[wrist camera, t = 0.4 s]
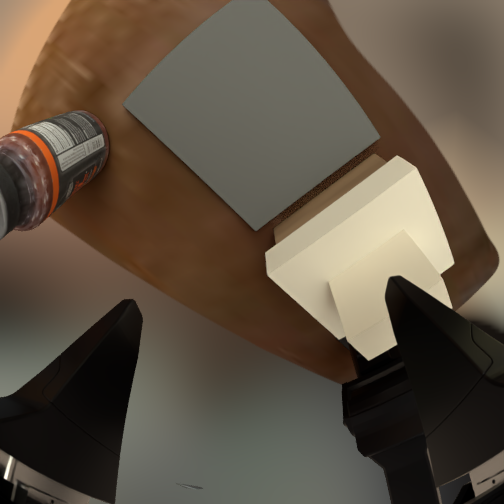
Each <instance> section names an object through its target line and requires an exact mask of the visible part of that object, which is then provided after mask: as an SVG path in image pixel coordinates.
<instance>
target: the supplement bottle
mask: <svg viewBox="0 0 504 504" xmlns="http://www.w3.org/2000/svg"><path fill="white" fill-rule="evenodd" d="M108 153H109V140H108V134H107V132H106V129H105V127H104V125H103V124H102V122H101V121H100V120H99V119H98V118H97V117H96V116H95V115H93V114H92V113H89V112H87V111H71V112H67V113H64V114H61V115H57V116H54V117H51V118H48V119H45V120H42V121H39V122H37V123H34V124H31V125H29V126H26V127H24V128H21V129H19V130H16V131H14V132H11V133H9V134H7V135H5V136H3V137H2V138H0V240H1V239H2V238H3V237H4V236H5V235H7V234H8V233H9V232H10V231H12V230H13V229H14V230H18V231H28V230H32V229H34V228H36V227H37V226H39V225H40V224H41V223H42V222H43V221H44V220H46V218H48V217H49V216H50V215H51V214H52V213H53V212H55V211H56V210H57V209H58V208H59V207H60V206H61V205H62V204H63V203H64V202H65V201H66V200H68V199H69V198H70V197H71V196H72V195H73V194H75V193H76V192H77V191H78V190H80V189H81V188H82V187H83V186H84V185H85V184H87V183H88V182H89V181H91V180H92V179H93V178H94V177H95V176H96V175H97V174H98V173H99V172H100V171H101V170H102V168H103V167H104V165H105V163H106V160H107V157H108Z"/></svg>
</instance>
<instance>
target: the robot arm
mask: <svg viewBox="0 0 504 504" xmlns="http://www.w3.org/2000/svg"><path fill="white" fill-rule="evenodd" d="M385 302H386V306H387V310H388V313H389V317H390V321H391V325H392V329H393V333H394V336H395V339H396V342H397V345H395V346H394V347H392V348H390V349H389V350H387V351H385V352H383V353H382V354H380V355H378V356H376V357H375V358H373V359H371V360H369V361H368V360H367V359H366V358H365V357H364V356H363V355H362V354H361V353H360V352H359V351H357V350H356V349H355V348H354V347H353V346H352V345H351V344H350V343H349V342H348V341H347V338H346V336H345V337H343V338H341V339H340V340H339V339H338V338H336V339H337V340H338V341H339V342H341V343H342V344H343V345H344V346H345V347H346V348H347V349H348V350H350V353H351V356H352V360H353V363H354V367H355V370H356V374H357V379H355V380H352V381H350V382H348V383H347V382H346V383H344V384H342V401H343V402H342V404H343V424H344V425H345V426H346V427H348V429H349V431H350V433H351V434H352V435H353V436H354V437H355V438H356V443H357V448H358V451H359V452H360V453H361V454H362V455H363V456H364V457H369V458H370V459H372V460H373V461H374V462H375V463H377V464H378V465H379V466H381V467H382V468H383V470H384V473H385V477H386V481H387V486H388V490H389V495H390V500H391V504H442V501H441V496H440V492H439V488H438V487H440V486H442V485H444V484H447V483H449V482H451V481H453V480H455V479H457V478H459V477H461V476H463V475H465V474H467V473H470V477H471V482H469V483H467V484H465V485H463V486H462V488H461V490H460V492H459V494H458V496H457V497H456V499H455V501H454V503H453V504H504V345H503V344H502V343H500V342H498V341H497V340H495V339H494V338H492V337H491V336H489V335H488V334H486V333H485V332H483V331H482V330H481V329H479V328H478V327H476V326H475V325H474V324H472V323H471V324H470V322H469V321H468V320H466V319H465V318H463V317H462V316H460V315H459V314H458V313H456V312H455V311H454V310H452V309H451V308H449V307H448V306H446V305H445V304H443V303H442V302H440V301H439V300H437V299H436V298H434V297H433V296H431V295H430V294H428V293H427V292H425V291H424V290H422V289H421V288H419V287H418V286H416V285H415V284H413V283H412V282H410V281H408V280H407V279H405V278H404V277H402V276H400V275H396V276H390V277H389V278H388V282H387V287H386V291H385ZM142 323H143V318H142V314H141V312H140V310H139V308H138V306H137V304H136V302H135V301H134V300H133V299H124V300H122V301H121V302H120V303H119V304H118V305H116V306H115V307H114V308H113V309H112V310H110V311H109V312H108V313H107V314H106V315H105V316H104V317H102V318H101V319H100V320H99V321H98V322H96V323H95V324H94V325H93V326H92V327H91V328H90V329H88V330H87V331H86V332H85V333H84V334H83V335H82V336H80V337H79V338H78V339H77V340H76V341H75V342H74V343H72V344H71V345H70V346H69V347H68V348H67V349H66V350H65V351H64V352H62V353H61V355H59V356H58V357H57V358H56V359H55V360H54V361H53V362H51V363H50V364H49V365H48V366H47V367H46V368H45V369H44V370H42V371H41V372H40V373H39V374H37V375H36V376H35V377H34V378H32V379H31V380H30V381H29V382H27V383H26V384H25V385H24V386H23V387H21V388H20V389H19V390H17V391H16V392H15V393H13V394H11V395H9V396H6V397H0V504H88V503H89V498H90V497H92V498H95V499H98V500H101V501H103V502H106V503H109V504H115V496H116V485H117V477H118V468H119V460H120V452H121V444H122V438H123V431H124V425H125V418H126V413H127V408H128V402H129V397H130V392H131V387H132V383H133V378H134V373H135V368H136V364H137V359H138V353H139V346H140V338H141V330H142Z"/></svg>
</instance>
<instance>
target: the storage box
mask: <svg viewBox="0 0 504 504" xmlns="http://www.w3.org/2000/svg"><path fill="white" fill-rule="evenodd" d="M386 163H388V162H386V161H385V160H383V159H382V158H380V157H379V156H377V155H376V154H375V153H374V154H372V155H371V156H370V157H368V158H367V159H366V160H364V161H363V162H362V163H360V164H359V165H358V166H356V167H355V168H353V169H352V170H351V171H349V172H348V173H347V174H345V175H344V176H343V177H341V178H340V179H339V180H337V181H336V182H335V183H333V184H332V185H331V186H329V187H328V188H327V189H325V190H324V191H323V192H321V193H320V194H319V195H317V196H316V197H315V198H313V199H312V200H311V201H309V202H308V203H307V204H305V205H304V206H303V207H301V208H300V209H299V210H297V211H296V212H295V213H293V214H292V215H291V216H289V217H288V218H287V219H285V220H284V221H283V222H281V223H280V224H279V225H277V226H276V227H275V228H273V229H274V235H275V241H276V244H278V243H279V242H281V241H282V240H283V239H285V238H286V237H287V236H289V235H290V234H291V233H293V232H294V231H296V230H297V229H298V228H300V227H301V226H302V225H304V224H305V223H307V222H308V221H309V220H311V219H312V218H313V217H315V216H316V215H317V214H319V213H320V212H321V211H323V210H324V209H326V208H327V207H328V206H330V205H331V204H332V203H334V202H335V201H336V200H338V199H339V198H340V197H342V196H343V195H344V194H346V193H347V192H349V191H350V190H351V189H353V188H354V187H355V186H357V185H358V184H359V183H361V182H362V181H363V180H365V179H366V178H367V177H369V176H370V175H371V174H373V173H374V172H375V171H377V170H378V169H379V168H381V167H382V166H384V165H385V164H386Z"/></svg>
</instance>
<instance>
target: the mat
mask: <svg viewBox="0 0 504 504" xmlns="http://www.w3.org/2000/svg"><path fill="white" fill-rule="evenodd" d="M122 105H123V106H124V107H125V108H127V109H128V110H129V111H130V112H131V113H132V114H133V115H134V116H135V117H136V118H137V119H138V120H140V121H141V122H142V123H143V124H144V125H145V126H146V127H147V128H148V129H149V130H150V131H151V132H152V133H154V134H155V135H156V136H157V137H158V138H159V139H160V140H161V141H162V142H163V143H164V144H165V145H166V146H167V147H168V148H170V149H171V150H172V151H173V152H174V153H175V154H176V155H177V156H178V157H179V158H180V159H181V160H182V161H183V162H184V163H185V164H186V165H188V166H189V167H190V168H191V169H192V170H193V171H194V172H195V173H196V174H197V175H198V176H199V177H200V178H201V179H202V180H203V181H204V182H205V183H206V184H207V185H208V186H210V187H211V188H212V189H213V190H214V191H215V192H216V193H217V194H218V195H219V196H220V197H221V198H222V199H223V200H224V201H225V202H226V203H227V204H228V205H229V206H230V207H231V208H232V209H233V210H234V211H235V212H236V213H237V214H239V215H240V216H241V217H242V218H243V219H244V220H245V221H246V222H247V223H248V224H249V225H250V226H251V227H252V228H253V229H254V230H255V231H257V230H258V229H260V228H261V227H262V226H264V225H265V224H266V223H267V222H269V221H270V220H271V219H273V218H274V217H275V216H277V215H278V214H279V213H281V212H282V211H283V210H284V209H286V208H287V207H288V206H290V205H291V204H292V203H294V202H295V201H296V200H298V199H299V198H300V197H302V196H303V195H304V194H305V193H307V192H308V191H309V190H311V189H312V188H313V187H315V186H316V185H317V184H319V183H320V182H321V181H323V180H324V179H325V178H327V177H328V176H329V175H331V174H332V173H333V172H335V171H336V170H337V169H339V168H340V167H341V166H343V165H344V164H345V163H347V162H348V161H349V160H351V159H352V158H353V157H355V156H356V155H357V154H359V153H360V152H361V151H363V150H364V149H366V148H367V147H368V146H370V145H371V144H372V143H374V142H375V141H376V140H378V139H379V138H380V136H379V134H378V133H377V131H376V129H375V128H374V126H373V125H372V123H371V122H370V120H369V119H368V117H367V116H366V114H365V113H364V111H363V110H362V108H361V107H360V105H359V104H358V103H357V101H356V100H355V98H354V97H353V96H352V94H351V93H350V92H349V90H348V89H347V88H346V86H345V85H344V84H343V82H342V81H341V80H340V78H339V77H338V76H337V75H336V73H335V72H334V71H333V70H332V68H331V67H330V66H329V65H328V63H327V62H326V61H325V60H324V59H323V57H322V56H321V55H320V54H319V53H318V52H317V51H316V49H315V48H314V47H313V46H312V45H311V44H310V43H309V42H308V40H307V39H306V38H305V37H304V36H303V35H302V34H301V33H300V32H299V31H298V30H297V29H296V28H295V27H294V26H293V25H292V24H291V23H290V22H289V21H288V20H287V19H286V18H285V17H284V16H283V15H282V14H281V13H280V12H279V11H278V10H277V9H276V8H275V7H274V6H273V5H272V4H271V3H270V2H268V1H267V0H232V1H231V2H229V3H228V4H227V5H225V6H224V7H223V8H221V9H220V10H219V11H217V12H216V13H215V14H214V15H212V16H211V17H210V18H209V19H207V20H206V21H205V22H204V23H202V24H201V25H200V26H199V27H198V28H196V29H195V30H194V31H193V32H192V33H191V34H189V35H188V36H187V37H186V38H185V39H184V40H183V41H182V42H181V43H179V44H178V45H177V46H176V47H175V48H174V49H173V50H172V51H171V52H170V53H169V54H168V55H167V56H166V57H165V58H164V59H163V60H162V61H161V62H160V63H159V64H158V65H157V66H156V67H155V68H154V69H153V70H152V71H151V72H150V73H149V74H148V75H147V76H146V78H145V79H144V80H143V81H142V82H141V83H140V84H139V85H138V86H137V87H136V89H135V90H134V91H133V92H132V93H131V94H130V96H129V97H128V98H127V99H126V100H125V102H124V103H123V104H122Z"/></svg>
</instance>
